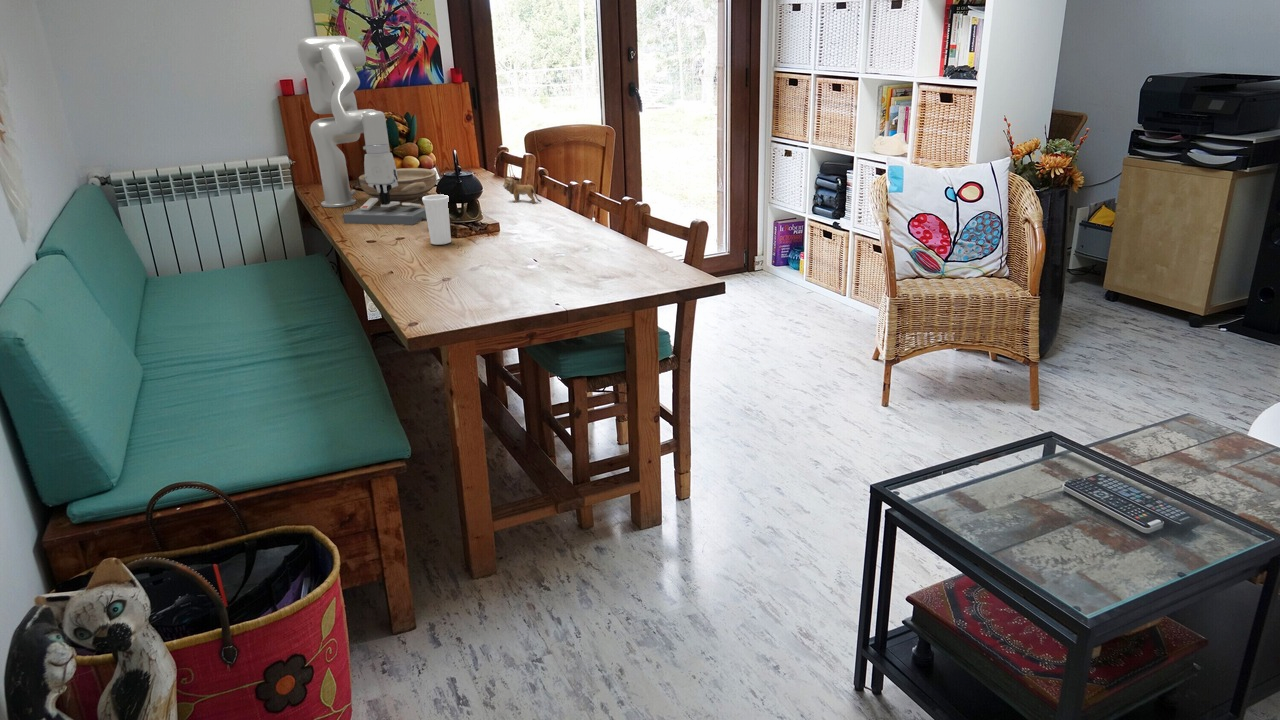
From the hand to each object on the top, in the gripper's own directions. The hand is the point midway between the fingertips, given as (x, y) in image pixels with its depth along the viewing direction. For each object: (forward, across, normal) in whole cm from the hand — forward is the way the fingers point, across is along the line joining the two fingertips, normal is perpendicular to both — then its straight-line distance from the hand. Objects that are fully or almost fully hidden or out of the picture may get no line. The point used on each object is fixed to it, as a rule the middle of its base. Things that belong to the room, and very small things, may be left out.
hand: (385, 203), depth 297 cm
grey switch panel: (+6, +3, +1) cm, 6 cm away
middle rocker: (+2, 0, +3) cm, 4 cm away
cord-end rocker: (+2, +8, +3) cm, 9 cm away
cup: (+6, +34, -28) cm, 44 cm away
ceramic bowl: (+6, -12, +32) cm, 35 cm away
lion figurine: (+6, +36, +33) cm, 50 cm away
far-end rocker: (+2, -8, +3) cm, 9 cm away
